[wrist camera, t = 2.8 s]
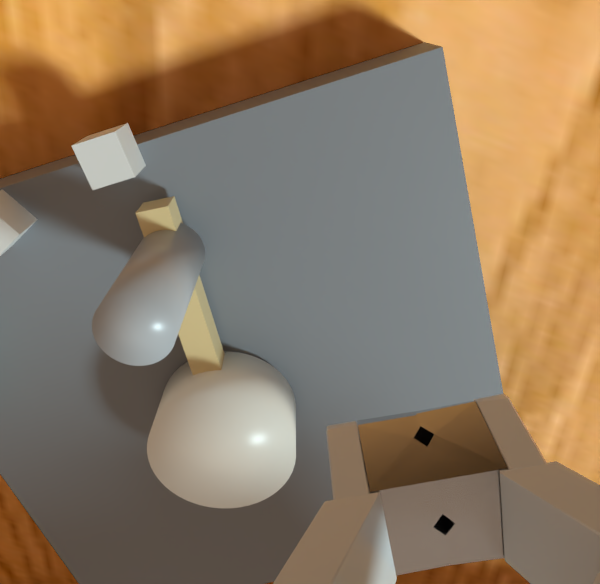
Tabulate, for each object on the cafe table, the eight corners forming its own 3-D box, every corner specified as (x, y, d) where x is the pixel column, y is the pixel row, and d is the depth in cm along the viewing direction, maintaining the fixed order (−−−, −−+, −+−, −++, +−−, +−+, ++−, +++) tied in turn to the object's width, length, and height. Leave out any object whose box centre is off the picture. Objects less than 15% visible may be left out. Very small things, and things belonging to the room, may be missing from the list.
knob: (307, 447, 27) (311, 568, 21) (184, 468, 27) (155, 592, 21) (237, 181, 21) (216, 247, 15) (83, 213, 22) (6, 289, 16)
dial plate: (507, 484, 32) (538, 554, 28) (113, 572, 35) (89, 647, 31) (420, 20, 22) (449, 23, 18) (-135, 201, 25) (-221, 240, 20)
